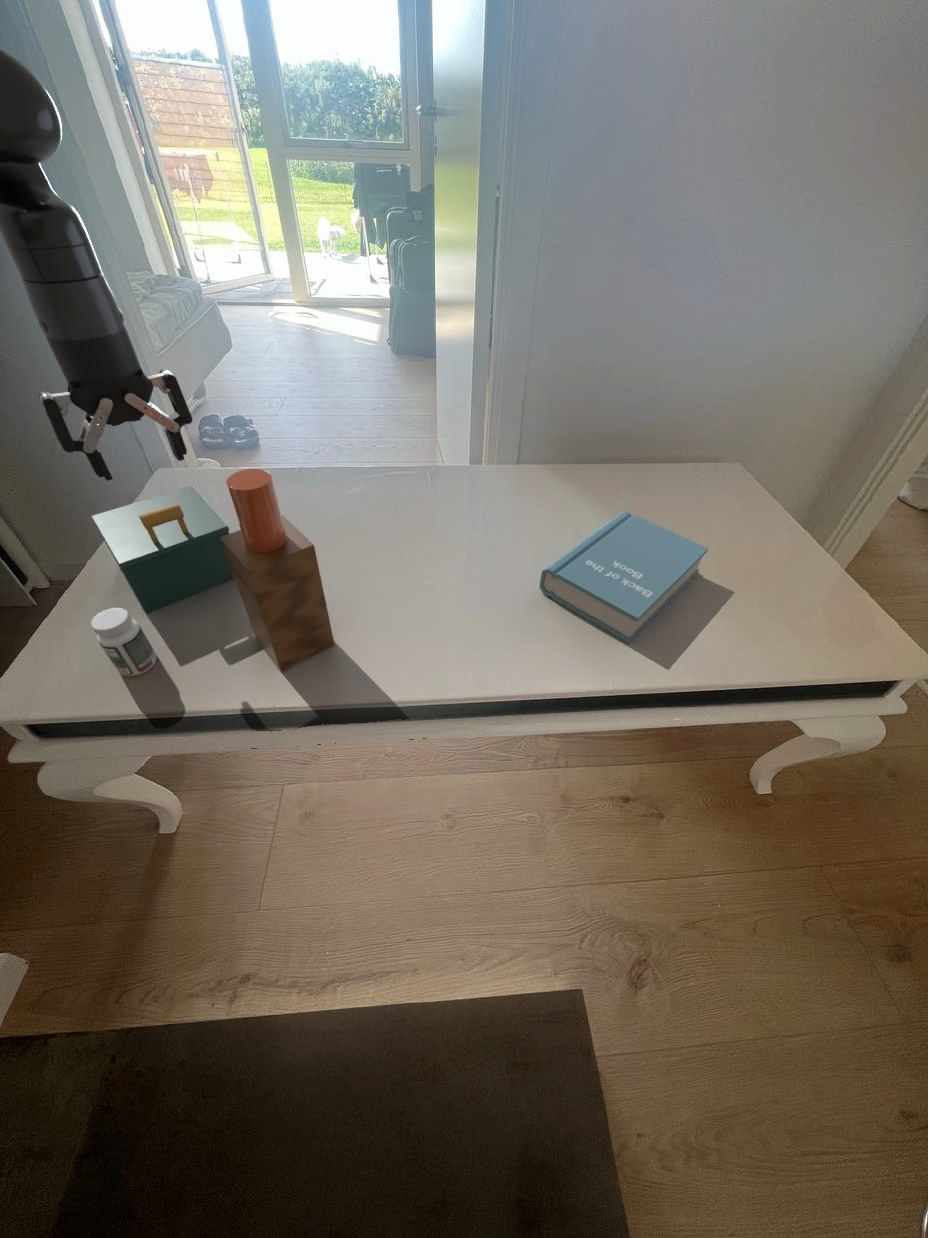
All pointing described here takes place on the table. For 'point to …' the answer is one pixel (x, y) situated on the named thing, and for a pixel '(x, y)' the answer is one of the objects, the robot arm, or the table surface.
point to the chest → (178, 573)
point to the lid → (158, 525)
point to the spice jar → (257, 509)
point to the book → (623, 574)
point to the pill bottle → (123, 641)
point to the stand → (282, 596)
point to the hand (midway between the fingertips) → (144, 467)
